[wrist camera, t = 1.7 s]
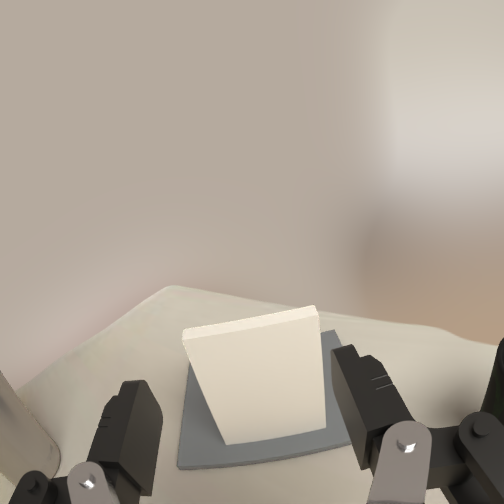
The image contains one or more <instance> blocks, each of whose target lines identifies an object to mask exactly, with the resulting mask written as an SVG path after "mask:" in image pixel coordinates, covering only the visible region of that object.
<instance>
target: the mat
mask: <svg viewBox="0 0 504 504" xmlns="http://www.w3.org/2000/svg"><path fill="white" fill-rule="evenodd" d="M320 335H321V348H322V361H323V376H324V393H325V413H326V428H323V429H319V430H314V431H310V432H305V433H300V434H295V435H290V436H285V437H279V438H274V439H268V440H261V441H255V442H248V443H240V444H232V445H226V444H225V442H224V439H223V437H222V435H221V433H220V431H219V429H218V426H217V424H216V422H215V420H214V418H213V415H212V413H211V411H210V409H209V406H208V404H207V402H206V399H205V397H204V395H203V392H202V390H201V387H200V385H199V383H198V380H197V378H196V375H195V373H194V370H193V368H192V365H191V363H190V365H189V373H188V380H187V387H186V395H185V402H184V410H183V418H182V426H181V435H180V443H179V452H178V461H177V467H178V468H179V470H191V469H209V468H222V467H233V466H242V465H250V464H257V463H264V462H271V461H277V460H283V459H289V458H294V457H299V456H304V455H309V454H313V453H318V452H322V451H326V450H330V449H334V448H338V447H342V446H346V445H349V444H352V443H351V440H350V437H349V434H348V431H347V429H346V426H345V423H344V420H343V417H342V415H341V412H340V409H339V406H338V404H337V401H336V398H335V395H334V391H333V386H332V376H331V356H330V351H331V349H335V348H339V347H342V345H341V343H340V340H339V338H338V336H337V334H336V332H335V330H331V331H326V332H322V333H320Z"/></svg>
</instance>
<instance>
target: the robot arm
mask: <svg viewBox="0 0 504 504" xmlns="http://www.w3.org/2000/svg"><path fill="white" fill-rule="evenodd" d="M330 356H331V376H332V386H333V391H334V395H335V398H336V401H337V404H338V406H339V409H340V412H341V415H342V417H343V420H344V423H345V426H346V429H347V431H348V434H349V437H350V440H351V443H352V446H353V449H354V451H355V454H356V457H357V460H358V463H359V466H360V469H361V470H365V469H368V468H370V469H371V472H372V475H373V477H374V478H373V481H372V485H371V489H370V493H369V496H368V500H367V503H366V504H425V503H424V501H425V493H426V490H427V489H434V488H440V489H441V491H442V492H443V494H444V495H445V497H446V499H447V500H448V502H449V504H504V426H503V425H502V424H501V423H500V421H499V420H498V419H497V418H496V417H495V416H493V415H492V414H490V413H487V412H474V413H472V414H470V415H468V416H466V417H465V418H464V419H463V420H462V422H461V424H460V425H459V426H452V427H445V428H428V427H426V426H425V425H423V424H421V423H419V422H416V421H415V420H414V419H413V418H412V416H411V414H410V412H409V411H408V409H407V407H406V405H405V403H404V402H403V400H402V398H401V396H400V394H399V393H398V391H397V389H396V387H395V386H394V385H393V382H392V380H391V379H390V377H389V376H388V373H387V372H386V370H385V368H384V367H383V365H382V363H381V362H380V361H378V360H377V359H375V358H374V357H372V356H371V355H367V356H364V357H359V355H358V353H357V351H356V349H355V347H354V346H353V345H352V344H351V345H347V346H343V347H339V348H335V349H331V351H330ZM162 425H163V415H162V411H161V408H160V406H159V404H158V402H157V401H156V399H155V397H154V395H153V393H152V392H151V390H150V388H149V386H148V384H147V382H146V381H145V380H135V381H124V382H123V383H122V386H121V388H120V391H119V394H118V396H113V397H112V398H111V399H110V401H109V402H108V403H107V404H106V405H105V407H104V410H103V413H102V416H101V419H100V422H99V424H98V428H97V430H96V433H95V436H94V439H93V442H92V445H91V448H90V451H89V455H88V458H87V460H86V462H83V463H80V464H78V465H76V466H75V467H74V468H73V469H72V470H71V471H70V473H69V475H68V476H65V477H59V478H53V476H54V475H55V473H56V471H57V469H58V466H59V462H60V452H59V449H58V447H57V445H56V444H55V442H54V441H53V440H52V439H51V438H50V437H49V436H48V434H47V433H46V432H45V431H44V430H43V428H42V427H41V426H40V425H39V423H38V422H37V421H36V420H35V418H34V417H33V416H32V415H31V413H30V412H29V411H28V409H27V408H26V407H25V405H24V404H23V403H22V401H21V400H20V399H19V397H18V396H17V395H16V393H15V392H14V391H13V389H12V387H11V386H10V385H9V383H8V382H7V380H6V379H5V377H4V376H3V374H2V373H1V371H0V473H1V474H3V475H4V476H5V477H6V478H7V479H8V480H9V481H10V482H11V483H13V484H14V485H15V486H16V489H15V491H14V493H13V495H12V497H11V499H10V501H9V504H139V499H140V496H152V489H153V482H154V475H155V468H156V462H157V455H158V449H159V443H160V437H161V431H162Z"/></svg>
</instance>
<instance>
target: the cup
mask: <svg viewBox="0 0 504 504" xmlns="http://www.w3.org/2000/svg"><path fill="white" fill-rule="evenodd" d="M480 412H487V413H490V414H492V415H493V416H495V417H496V418H497V419H498V420H499V421H500V423H501V424H502V425H503V426H504V338H503V339H502V341H501V342H500V344H499V346H498V349H497V353H496V357H495V362H494V366H493V370H492V373H491V377H490V381H489V384H488V388H487V391H486V394H485V398H484V401H483V404H482V407H481V410H480Z"/></svg>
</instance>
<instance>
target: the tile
mask: <svg viewBox="0 0 504 504" xmlns="http://www.w3.org/2000/svg"><path fill="white" fill-rule="evenodd" d="M182 342H183V345H184V347H185V350H186V353H187V355H188V358H189V360H190V363H191V365H192V368H193V370H194V373H195V375H196V378H197V380H198V383H199V385H200V387H201V390H202V392H203V395H204V397H205V399H206V402H207V404H208V406H209V409H210V411H211V413H212V415H213V418H214V420H215V422H216V424H217V426H218V429H219V431H220V433H221V435H222V437H223V439H224V442H225V444H226V445H232V444H240V443H248V442H255V441H261V440H268V439H274V438H279V437H285V436H290V435H295V434H300V433H305V432H310V431H314V430H319V429H323V428H326V413H325V393H324V376H323V361H322V348H321V335H320V323H319V314H318V312H317V310H316V308H315V306H314V305H311V306H307V307H302V308H297V309H292V310H287V311H283V312H278V313H272V314H267V315H262V316H257V317H252V318H246V319H241V320H235V321H229V322H224V323H218V324H212V325H206V326H200V327H194V328H187V329H184V331H183V336H182Z"/></svg>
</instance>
